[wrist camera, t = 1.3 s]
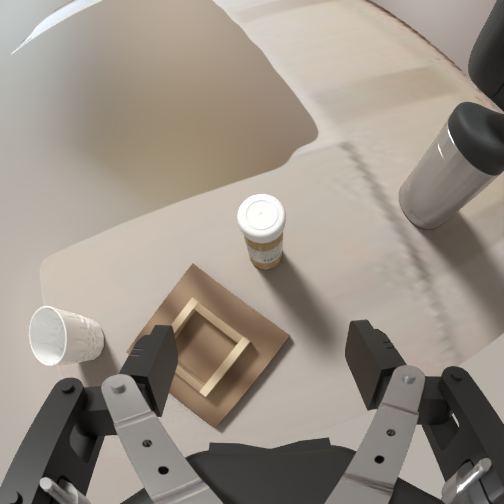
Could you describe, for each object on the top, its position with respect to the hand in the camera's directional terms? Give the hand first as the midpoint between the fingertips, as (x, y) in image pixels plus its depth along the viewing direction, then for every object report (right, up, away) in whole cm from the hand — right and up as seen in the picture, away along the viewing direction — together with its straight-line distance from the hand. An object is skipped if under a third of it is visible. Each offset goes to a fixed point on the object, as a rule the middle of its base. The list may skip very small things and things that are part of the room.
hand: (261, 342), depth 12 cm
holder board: (-7, -9, +24) cm, 26 cm away
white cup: (-26, -10, +25) cm, 38 cm away
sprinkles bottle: (+1, +4, +27) cm, 27 cm away
